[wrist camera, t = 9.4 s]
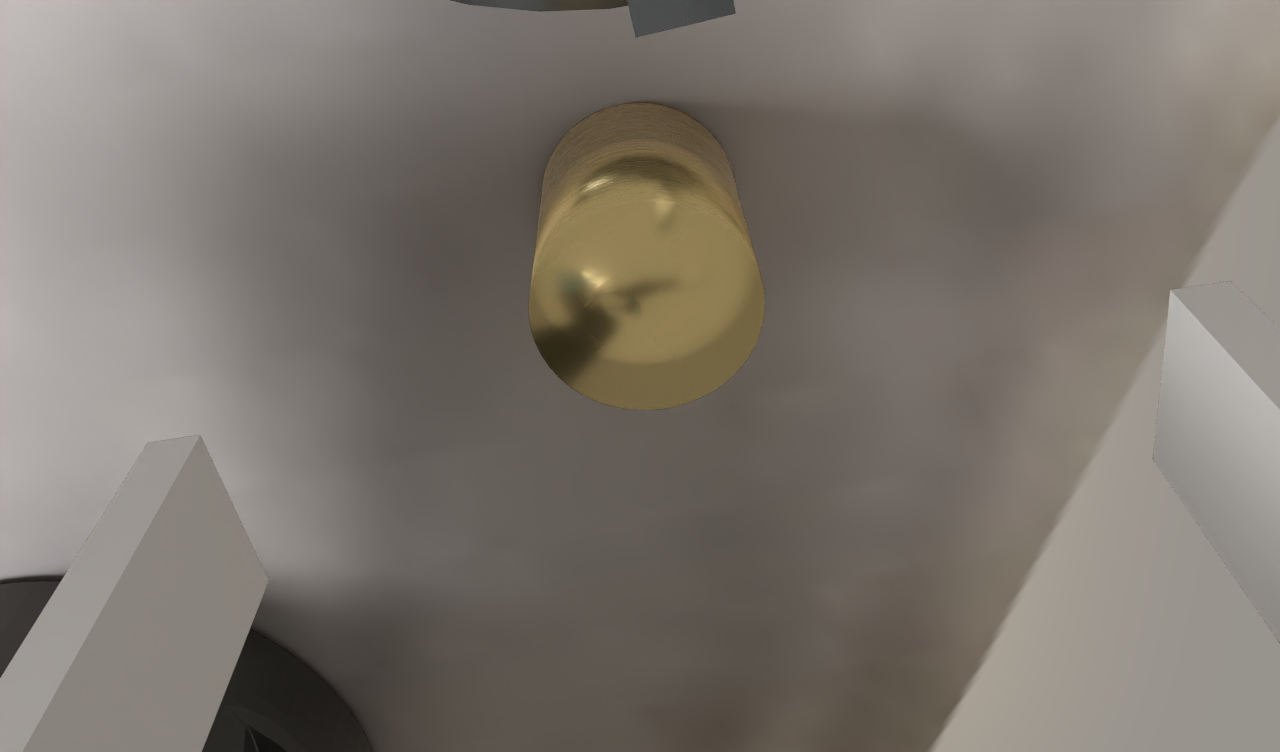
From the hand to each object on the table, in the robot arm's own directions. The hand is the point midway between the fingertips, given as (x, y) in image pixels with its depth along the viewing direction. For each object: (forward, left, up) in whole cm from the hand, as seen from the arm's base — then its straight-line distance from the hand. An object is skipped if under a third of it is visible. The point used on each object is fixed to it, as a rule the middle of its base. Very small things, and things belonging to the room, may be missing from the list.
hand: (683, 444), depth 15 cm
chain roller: (0, 0, -9) cm, 9 cm away
